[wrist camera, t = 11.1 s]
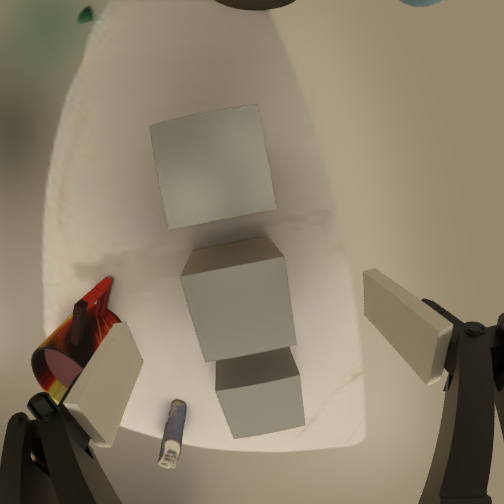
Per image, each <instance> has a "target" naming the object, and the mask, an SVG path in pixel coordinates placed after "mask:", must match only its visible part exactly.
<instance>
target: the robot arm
mask: <svg viewBox="0 0 504 504" xmlns="http://www.w3.org/2000/svg"><path fill="white" fill-rule="evenodd" d="M216 1H218V2H220V3H223V4H225V5H228V6H232V7H236V8H241V9H250V10H266V9H274V8H279V7H283V6H286V5H288V4H290V3H292V2H294V1H295V0H216ZM400 1H401V2H403V3H405V4H407V5H410V6H416V7H420V6H421V7H424V6H430V5H434V4H437V3H440V2H442V1H444V0H400ZM363 285H364V314H365V316H366V317H367V318H368V319H369V321H370V322H371V323H372V324H373V325H374V326H375V327H376V328H377V329H378V330H379V332H380V333H381V334H382V335H383V336H384V337H385V338H386V339H387V341H388V342H389V343H390V344H391V345H392V346H393V347H394V348H395V350H396V351H397V352H398V353H399V354H400V355H401V356H402V357H403V359H404V360H405V361H406V362H407V363H408V364H409V365H410V367H411V368H412V369H413V370H414V371H415V372H416V374H417V375H418V376H419V377H420V378H421V379H422V381H423V382H424V383H425V384H426V385H427V386H428V385H430V384H431V383H434V382H436V381H437V380H439V379H441V376H442V373H443V369H444V368H445V369H446V370H447V371H448V372H449V374H448V377H447V381H446V385H445V387H444V390H443V391H446V393H445V400H444V407H443V414H442V419H441V425H440V430H439V435H438V439H437V444H436V448H435V452H434V456H433V460H432V464H431V467H430V470H429V474H428V477H427V480H426V483H425V487H424V489H423V492H422V495H421V498H420V500H419V503H418V504H492V500H491V497H490V496H488V495H487V485H488V480H489V474H490V467H491V460H492V451H493V439H494V410H495V409H494V402H495V405H496V409H497V413H498V417H499V421H500V425H501V429H502V434H503V439H504V313H502V314H501V315H500V316H499V319H498V323H497V325H495V326H491V327H487V328H486V327H485V326H484V325H482V324H481V323H478V322H466V323H463V322H462V321H460V320H459V319H457V318H456V317H455V316H453V315H452V314H451V313H449V312H448V311H446V310H445V309H444V308H441V306H440V305H438V304H436V303H435V302H434V301H431V300H428V299H422V300H420V299H418V298H417V297H415V296H414V295H413V294H411V293H410V292H409V291H407V290H406V289H404V288H403V287H402V286H400V285H399V284H397V283H396V282H394V281H393V280H392V279H390V278H389V277H387V276H386V275H384V274H383V273H381V272H380V271H378V270H377V269H376V268H373V269H369V270H366V271H363ZM143 362H144V361H143V359H142V357H141V355H140V353H139V350H138V348H137V346H136V344H135V342H134V339H133V337H132V335H131V333H130V330H129V328H128V326H127V323H126V322H122V323H115V324H114V325H113V327H112V328H111V329H110V331H109V332H108V334H107V335H106V337H105V338H104V340H103V341H102V343H101V344H100V346H99V347H98V348H97V350H96V351H95V353H94V354H93V356H92V358H91V359H90V361H89V362H88V364H87V365H86V367H85V368H84V370H82V371H81V372H80V373H79V374H78V375H77V376H76V377H75V378H74V380H73V381H72V383H71V385H70V386H69V388H68V390H67V391H66V392H65V394H64V396H63V397H62V399H61V401H60V402H59V404H58V406H57V405H56V403H55V402H54V400H53V399H52V397H51V396H50V395H49V393H47V392H41V393H37V394H36V395H34V396H33V397H32V398H31V399H30V400H29V402H28V404H27V407H28V409H29V410H30V411H31V413H32V414H33V415H34V417H35V418H36V420H30V419H29V418H28V416H27V415H26V414H25V413H23V412H20V413H17V414H14V415H13V416H12V417H11V419H10V420H9V422H8V425H7V430H6V435H5V440H4V446H3V452H2V457H1V466H0V504H122V502H121V501H120V499H119V498H118V496H117V494H116V493H115V491H114V489H113V488H112V486H111V484H110V483H109V481H108V479H107V477H106V475H105V473H104V472H103V469H102V468H101V466H100V464H99V462H98V460H97V458H96V456H95V454H94V451H93V449H92V448H91V447H90V445H89V444H88V443H89V441H90V438H91V439H92V441H93V442H94V443H95V444H96V445H97V446H98V447H107V448H111V447H112V444H113V442H114V439H115V436H116V433H117V430H118V427H119V425H120V422H121V419H122V416H123V414H124V411H125V408H126V406H127V403H128V400H129V398H130V395H131V392H132V390H133V387H134V385H135V382H136V379H137V377H138V374H139V372H140V369H141V367H142V364H143ZM30 453H31V454H32V455H33V456H34V457H35V461H33V460H32V458H31V454H30Z"/></svg>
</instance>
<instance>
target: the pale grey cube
mask: <svg viewBox="0 0 504 504" xmlns="http://www.w3.org/2000/svg"><path fill="white" fill-rule="evenodd" d="M150 133H151V140H152V146H153V153H154V159H155V165H156V170H157V176H158V181H159V187H160V192H161V197H162V202H163V207H164V212H165V216H166V221H167V226H168V230H174V229H178V228H183V227H188V226H193V225H197V224H202V223H207V222H212V221H217V220H222V219H227V218H232V217H237V216H243V215H248V214H253V213H259V212H264V211H270V210H275V209H276V203H275V197H274V192H273V186H272V180H271V174H270V169H269V163H268V158H267V152H266V147H265V142H264V137H263V131H262V126H261V121H260V116H259V111H258V106H257V104H253V105H246V106H239V107H233V108H227V109H221V110H216V111H210V112H205V113H200V114H196V115H191V116H186V117H182V118H178V119H174V120H170V121H166V122H162V123H158V124H155V125H151V126H150Z"/></svg>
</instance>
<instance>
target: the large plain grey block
mask: <svg viewBox="0 0 504 504" xmlns="http://www.w3.org/2000/svg"><path fill="white" fill-rule="evenodd" d="M215 391H216V394H217V397H218V400H219V402H220V405H221V408H222V410H223V413H224V416H225V418H226V421H227V423H228V426H229V428H230V431H231V433H232V436H233V438H234V439H237V438H244V437H251V436H257V435H262V434H268V433H273V432H278V431H283V430H287V429H292V428H296V427H300V426H304V425H305V418H304V408H303V398H302V389H301V380H300V374H299V371H298V369H297V366H296V364H295V361H294V358H293V356H292V353H291V351H290V348H289V346H288V347H284V348H279V349H275V350H270V351H265V352H260V353H255V354H250V355H245V356H240V357H234V358H228V359H222V360H216V387H215Z"/></svg>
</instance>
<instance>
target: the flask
mask: <svg viewBox="0 0 504 504" xmlns="http://www.w3.org/2000/svg"><path fill="white" fill-rule="evenodd" d="M185 416H186V404H185V403H184V402H183V401H178V400H175V401H173V403H172V404H171V410H170V412H169V419H168V422H166V425H165V430H164V435H163V439H162V443H161V450H160V455H159V459H158V465H159V466H161V467H163V468H171V467H172V466H173V465H174V464H176V462H177V460H178V459H179V455H180V453H181V445H182V436H183V429H184V422H185ZM175 467H176V465H174V466H173V467H172V468H175Z"/></svg>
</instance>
